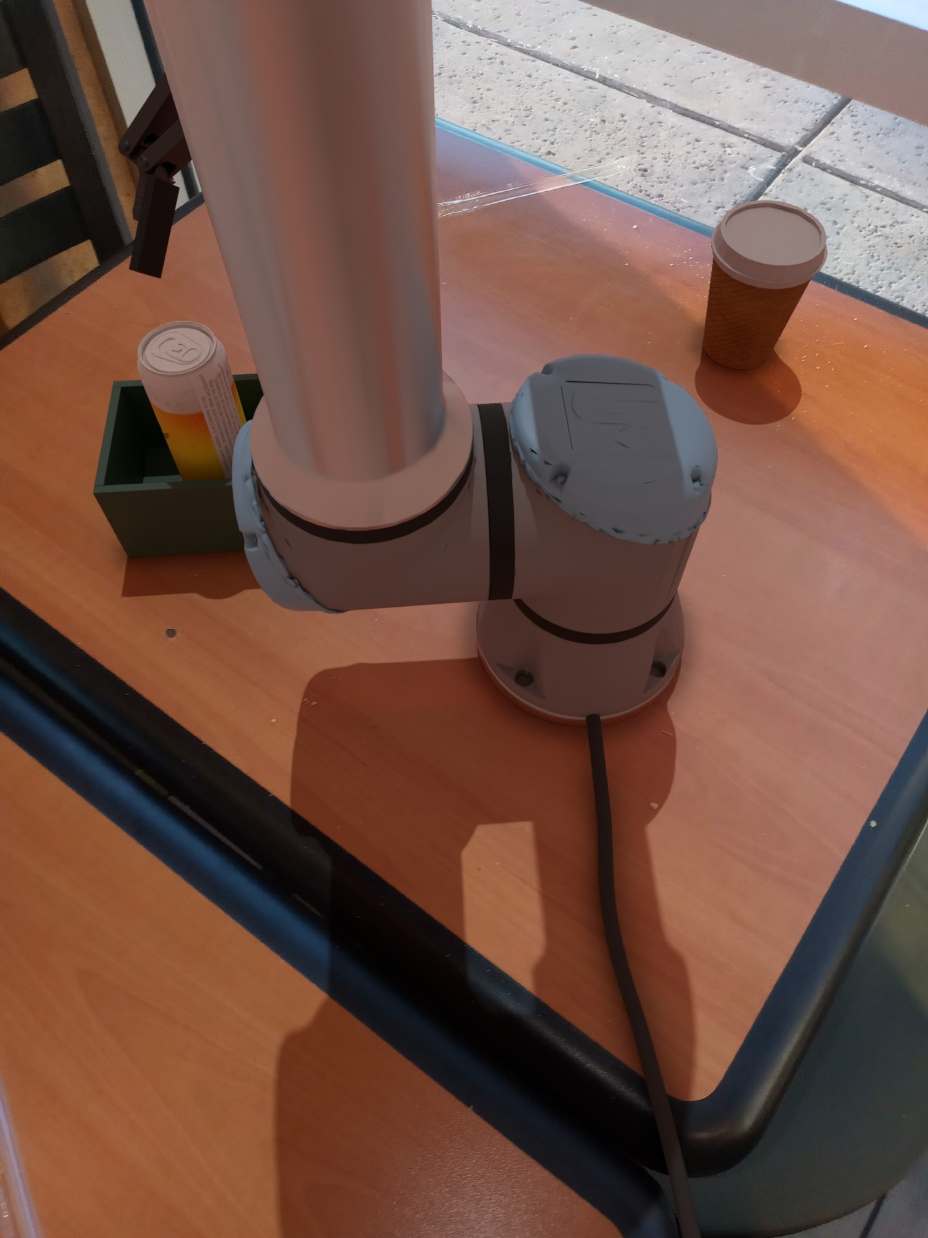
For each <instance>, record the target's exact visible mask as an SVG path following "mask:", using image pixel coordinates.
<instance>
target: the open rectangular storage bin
mask: <svg viewBox="0 0 928 1238" xmlns="http://www.w3.org/2000/svg"><path fill="white" fill-rule="evenodd" d="M232 375H233V379H234V382H235V385H236V389H237V392H238V395H239V399H240V402H241V406H242V409H243V412H244V416H245V419H246V422H248V421H249V420H252V419H253V417H254V414H255V411H256V409H257V407H258V405H259V402H260V400H261V399H262V397H263V396H264V393H263V390H262V387H261V384H260V380H259V377H258V374H257V372H256V373H237V374H236V373H235V374H232ZM110 392H111V393H110V398H109V404H108V409H107V414H106V418H105V419H106V420H105V425H104V431H103V435H102V441H101V447H100V451H99V457H98V462H97V469H96V474H95V479H94V484H93V489H92V490H93V491H92V495H93V496H94V498H95V500H96V502H97V504H98V505H99V507H100V509H101V511H102V512H103V514H104V516H105V518H106V520H107V522H108V524H109V525H110V527H111V530H112V531H113V533H114V534H115V536H116V538H117V540H118V541H119V544H120V545H121V547H122V549H123V550H124V552H125V554H126V556H127V558H145V557H146V558H147V557H160V556H161V557H162V556H176V555H177V556H179V555H192V554H208V553H209V554H210V553H226V552H243V551H244V552H245V549H244V545H245V541H244V536H243V533H242V532H241V531H240V530H239V526H238V522H237V518H236V513H235V507H234V499H233V487H232V478H228V479H211V480H194V481H183V480H182V478H181V475H180V473H179V470H178V468H177V466H176V463H175V461H174V458H173V456H172V453H171V451H170V449H169V446H168V444H167V441H166V439H165V436H164V434H163V432H162V429H161V427H160V424H159V422H158V420H157V417H156V415H155V412H154V410H153V407H152V405H151V403H150V400H149V398H148V395H147V393H146V390H145V388H144V386H143V383H142V381H141V379H127V380H114V381H113V382H112V387H111V391H110Z"/></svg>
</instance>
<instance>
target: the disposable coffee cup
mask: <svg viewBox="0 0 928 1238" xmlns="http://www.w3.org/2000/svg"><path fill="white" fill-rule="evenodd" d="M827 238H828V237H827V233H826V230H825V226H824V225H823V223H821V222H820V220H819V219H818V218H817V217H816V216H815V215H814V214H812V213H810V212H809V211H807V210H805V209H803V208H801V207H799V206H798V205H794V204H792V203H788V202H784V201H779V200H773V199H772V200H771V199H759V200H750V201H746V202H743V203H740V204H738V205H736V206H733V207H731V208H730V209H729V210H728V211H727V212H725V214H724V215H723V217H722V218H721V220H720V221H719V222H718V223H717V224H716V226H715V227H714V229H713V230H712V233H711V237H710V248H711V252H712V261H711V263H712V264H711V269H710V270H711V271H710V278H709V288H708V294H707V295H708V296H707V306H706V313H705V321H704V329H703V337H702V348H703V350H704V352H705V353H706V355H707V356H708V357H709V358H710V359H711V360H712V361H714V362H715V363H717V364H719V365H721V366H723V367H726V368H728V369H729V368H730V369H734V370H750V369H754V368H757V367H760V366H761V365H764V363H766V361H767V360H768V359H769V358H770V356H771V354H772V353H773V350H774V349H775V347H776V345H777V343H778V341H779V339H780V338H781V335H783V331H784V330H785V328H786V327H787V325H788V323H789V321H790V319H791V318H792V315H793V314H794V312H795V310H796V308H797V307H798V304H799V302H800V301H801V299H802V297H803V295H804V294H805V291H806V289H807V288H808V286H809V284H810V282H811V280H812V279H813V278H814V277H815V276H816V275H817V274H818V273H819V272H820V271H821V270H822V268H823V267H824V265H825V264H826V262H827V258H828V254H829V253H828V246H827Z"/></svg>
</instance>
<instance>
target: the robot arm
mask: <svg viewBox="0 0 928 1238" xmlns="http://www.w3.org/2000/svg"><path fill="white" fill-rule="evenodd" d="M142 1H143V4H144V7H145V11H146V14H147V17H148V20H149V24H150V27H151V31H152V33H153V37H154V40H155V44H156V46H157V50H158V53H159V57H160V59H161V63H162V66H163V69H164V71H163V73H162V75H161V76H160V78H159V79H158V81H157V82H156V84H155V85H154V87H153V89H152V90H151V92H150V93H149V95H148V96H147V98H146V99H145V101H144V102H143V104H142V105H141V107H140V109H139V110H138V112H137V113H136V115H135V116H134V118H133V120H132V121H131V123H130V124H129V126H128V127H127V129H126V130H125V131H124V133H123V135H122V136H121V138H120V139H119V140H118V141H119V142H118V144H117V150H118V152H119V153H120V155H122V156H123V157H125V158H127V159H128V160H129V161H130V162H132V163H133V164H134V165H135V166H136V167H137V169H138V180H137V184H136V185H137V186H136V189H135V197H134V201H133V205H132V219H133V220H134V221H137V226H136V231H135V234H134V235H135V236H134V241H133V245H132V246H133V247H132V250H131V251H132V252H131V255H130V262H129V264H128V270H130V271H133V272H135V273H137V274H143V275H146V276H149V277H152V278H156V279H162V277H163V276H162V275H163V270H164V266H165V261H166V257H167V252H168V247H169V242H170V238H171V233H172V227H173V222H174V218H175V213H176V210H177V209H176V208H177V203H178V198H179V194H180V190H181V187H179V186H177V185H175V184H177V182H176V180H175V178H174V177H175V176H176V175H177V174H178V173H179V172H180V171H182V170H183V169H184V168H185V167H186V166H187V165H188V164H189V163H190V162H191V161H192V165H193V167H194V170H195V174H196V178H197V181H198V184H199V187H200V190H201V193H202V198H203V200H204V204H205V207H206V210H207V214H208V217H209V220H210V224H211V227H212V230H213V233H214V237H215V240H216V242H217V243H216V244H217V246H218V250H219V252H220V256H221V260H222V261H223V266H224V269H225V272H226V276H227V279H228V282H229V285H230V288H231V292H232V295H233V298H234V302H235V305H236V308H237V311H238V315H239V318H240V321H241V325H242V327H243V331H244V335H245V337H246V341H247V343H248V344H247V345H248V347H249V350H250V351H249V352H250V354H251V358H252V361H253V363H254V367H255V370H256V373H257V374H258V377H259V380H260V384H261V387H262V390H263V393H264V396H263V397H262V399H261V400H260V402H259V405H258V407H257V409H256V411H255V414H254V417H253V419H252V420H249V421H248V422H247V423H245V424H244V425H243V426H242V428H241V429H240V431H239V433H238V435H237V437H236V441H235V445H234V450H233V461H232V487H233V499H234V507H235V513H236V518H237V522H238V526H239V530H240V531H241V532H242V533H243V536H244V541H245V545H244V549H245V551H244V554H245V556H246V560H247V562H248V566H249V567H250V570H251V572H252V574H253V576H254V578H255V580H256V581H257V583H258V585H259V587H260V588H261V590H262V591H263V592H264V593H265V595H266V596H267V597H268V598H269V599H270V600H271V601H272V602H273V603H275V604H276V605H278V606H279V607H281V608H283V609H286V610H288V611H294V612H323V613H325V614H329V615H335V614H336V615H339V614H345V613H347V612H352V611H364V610H377V609H378V610H379V609H390V608H391V609H392V608H404V607H405V608H406V607H418V606H431V605H446V604H460V603H475V602H479V603H478V606H477V607H478V608H477V612H476V621H475V622H476V630H475V631H476V634H475V635H476V645H477V651H478V655H479V659H480V661H481V664H482V666H483V668H484V670H485V672H486V674H487V676H488V677H489V679H490V681H491V682H492V683H493V685H494V686H495V687H496V688H497V690H498V691H499V692H500V693H502V695H503V696H504V697H505V698H507V699H508V701H510V702H511V703H512V704H514V705H515V706H517V707H518V708H519V709H521V710H522V711H524V712H526V713H528V714H529V715H531V716H534V717H536V718H538V719H541V720H544V721H547V722H549V723H553V724H557V725H561V726H569V727H577V728H578V727H579V728H586V732H587V740H588V749H589V758H590V768H591V776H592V785H593V794H594V802H595V803H594V804H595V815H596V816H595V818H596V831H597V832H596V833H597V875H598V889H599V890H598V892H599V893H598V894H599V902H600V911H601V918H602V924H603V930H604V935H605V940H606V945H607V950H608V955H609V958H610V962H611V965H612V969H613V973H614V976H615V980H616V983H617V986H618V987H617V988H618V989H619V990H618V991H619V993H620V996H621V999H622V1002H623V1006H624V1009H625V1012H626V1015H627V1018H628V1022H629V1025H630V1030H631V1032H632V1035H633V1039H634V1042H635V1046H636V1050H637V1054H638V1057H639V1061H640V1066H641V1069H642V1073H643V1076H644V1082H645V1085H646V1088H647V1092H648V1096H649V1100H650V1105H651V1107H652V1111H653V1115H654V1120H655V1124H656V1127H657V1131H658V1136H659V1140H660V1143H661V1147H662V1150H663V1151H662V1152H663V1156H664V1160H665V1165H666V1168H667V1173H668V1177H669V1183H670V1187H671V1192H672V1196H673V1201H674V1205H675V1210H676V1215H677V1219H678V1224H679V1230H680V1233H681V1238H702V1236H701V1232H700V1226H699V1223H698V1218H697V1213H696V1209H695V1204H694V1200H693V1195H692V1190H691V1186H690V1182H689V1178H688V1173H687V1169H686V1165H685V1161H684V1157H683V1153H682V1149H681V1145H680V1140H679V1137H678V1133H677V1129H676V1124H675V1120H674V1118H673V1113H672V1110H671V1105H670V1102H669V1098H668V1094H667V1091H666V1087H665V1083H664V1080H663V1079H664V1078H663V1076H662V1071H661V1068H660V1064H659V1059H658V1058H657V1053H656V1049H655V1045H654V1043H653V1038H652V1036H651V1031H650V1028H649V1025H648V1022H647V1018H646V1016H645V1012H644V1009H643V1006H642V1003H641V1000H640V997H639V993H638V990H637V988H636V984H635V981H634V978H633V974H632V971H631V967H630V964H629V961H628V958H627V953H626V950H625V946H624V941H623V936H622V931H621V926H620V921H619V920H620V919H619V913H618V907H617V900H616V899H617V898H616V889H615V873H614V842H613V841H614V840H613V824H612V823H613V821H612V810H611V809H612V808H611V799H610V790H609V781H608V780H609V779H608V774H607V764H606V755H605V747H604V739H603V730H602V727H603V726H607V725H612V724H616V723H619V722H623V721H625V720H627V719H629V718H632V717H634V716H636V715H637V714H639V713H642V712H643V711H644V710H646V709H647V708H649V707H650V706H651V705H653V703H655V702H656V701H657V700H658V699H659V698H660V696H662V695H663V693H664V692H665V690H666V689H667V688H668V687H669V685H670V684H671V682H672V681H673V679H674V676H675V674H676V671H677V669H678V667H679V664H680V662H681V659H682V655H683V651H684V647H685V646H684V645H685V617H684V613H683V609H682V608H683V607H682V605H681V604H682V603H681V600H680V595H679V591H678V588H679V587H680V584H681V581H682V578H683V576H684V573H685V570H686V567H687V564H688V561H689V559H690V556H691V554H692V550H693V548H694V545H695V542H696V540H697V537H698V534H699V531H700V529H701V525H702V524H703V523H704V522H705V521H706V519H707V518H708V515H709V512H710V509H711V505H712V495H713V493H712V492H713V490H712V489H713V485H714V482H715V478H716V473H717V469H718V461H719V460H718V459H719V452H718V443H717V439H716V435H715V432H714V429H713V427H712V424H711V421H710V419H709V418H708V416H707V414H706V413H705V411H704V409H703V408H702V406H701V405H700V403H698V401H697V400H696V399H695V398H694V397H693V395H691V393H689V392H688V391H687V390H686V389H685V388H684V387H683V386H681V385H679V384H677V383H676V382H673V381H671V380H670V379H667V377H666V376H665V374H664V372H661V371H659V370H658V369H656V368H654V367H652V366H649V365H648V364H645V363H642V362H639V361H636V360H633V359H631V358H626V357H622V356H618V355H612V354H603V353H602V354H601V353H583V354H573V355H569V356H563V357H560V358H557V359H554V360H551V361H550V362H547V363H545V364H544V366H542V370H541V371H540V372H538V371H536V372H533V373H532V374H530V375H529V376H528V377H527V378H526V379H525V380H524V382H523V383H522V384H521V386H520V388H519V389H518V391H517V392H516V393H515V396H514V397H513V398H512V400H511V401H508V402H507V401H506V402H490V403H488V402H487V403H468V401H467V399H466V397H465V394H464V393H463V391H462V390H461V388H460V387H459V385H458V384H457V383H456V382H455V380H453V378H452V377H451V375H449V374H448V373H447V372H446V371H445V370H444V369H443V345H442V344H443V343H442V342H443V341H442V310H441V278H440V277H441V273H440V272H441V271H440V243H439V241H440V240H439V207H438V203H439V202H438V180H437V178H438V177H437V176H438V175H437V174H438V173H437V172H438V171H437V169H438V168H437V141H436V140H437V139H436V137H437V136H436V102H435V74H434V73H435V71H434V68H435V67H434V36H433V32H434V31H433V3H432V1H433V0H142Z"/></svg>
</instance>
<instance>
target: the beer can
mask: <svg viewBox="0 0 928 1238" xmlns="http://www.w3.org/2000/svg"><path fill="white" fill-rule="evenodd" d="M136 371H137V374H138V376H139V378H140V380H141V381H142V383H143V386H144V388H145V390H146V393H147V395H148V398H149V400H150V403H151V405H152V407H153V410H154V412H155V415H156V417H157V420H158V422H159V424H160V427H161V429H162V432H163V434H164V436H165V439H166V441H167V444H168V446H169V449H170V451H171V453H172V456H173V458H174V461H175V463H176V466H177V468H178V470H179V473H180V475H181V478H182V480H183V481H194V480H211V479H228V478H232V461H233V450H234V445H235V441H236V437H237V435H238V433H239V431H240V429H241V428H242V426H243V425H244V424H245V423H247V422H246V419H245V416H244V412H243V409H242V406H241V402H240V399H239V395H238V392H237V389H236V385H235V382H234V379H233V375H234V374H233V371H232V369H231V365H230V362H229V359H228V355H227V351H226V349H225V346H224V345H223V343H222V341H221V340H219V339H218V337H216V336H215V334H214V332H213V331H212V330H211V329H210V328H209V327H208V326H206V325H204V324H202V323H200V322H196V321H191V320H175V321H171V322H167V323H164V324H161V325H159V326H157V327H155V328H153V329H151V330H150V331H149V332H148V333H146V334H145V336H144V337H143V338H142V339H141V341H140V342H139V345H138V347H137V361H136Z"/></svg>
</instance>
